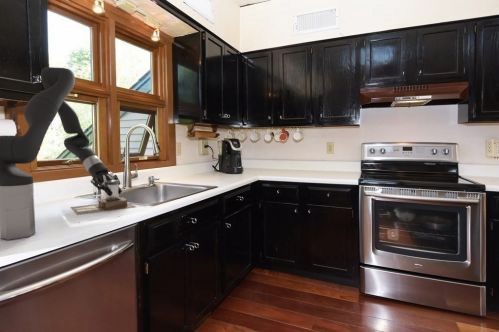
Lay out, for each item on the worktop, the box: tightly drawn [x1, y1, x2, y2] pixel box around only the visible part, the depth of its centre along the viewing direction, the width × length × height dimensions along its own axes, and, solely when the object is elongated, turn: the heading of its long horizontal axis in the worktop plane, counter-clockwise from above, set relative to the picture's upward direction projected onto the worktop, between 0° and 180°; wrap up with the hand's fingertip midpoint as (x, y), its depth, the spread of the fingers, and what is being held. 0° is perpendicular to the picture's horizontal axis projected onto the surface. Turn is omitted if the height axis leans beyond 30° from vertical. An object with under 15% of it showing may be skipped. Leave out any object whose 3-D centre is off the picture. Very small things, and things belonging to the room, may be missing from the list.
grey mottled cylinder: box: [106, 179, 120, 202], centre depth 134 cm, size 6×6×12 cm
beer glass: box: [100, 171, 115, 199], centre depth 153 cm, size 7×7×15 cm
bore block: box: [70, 196, 137, 216], centre depth 131 cm, size 18×24×4 cm
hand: (115, 193), depth 133 cm, fingers closed on grey mottled cylinder, 5 cm apart
